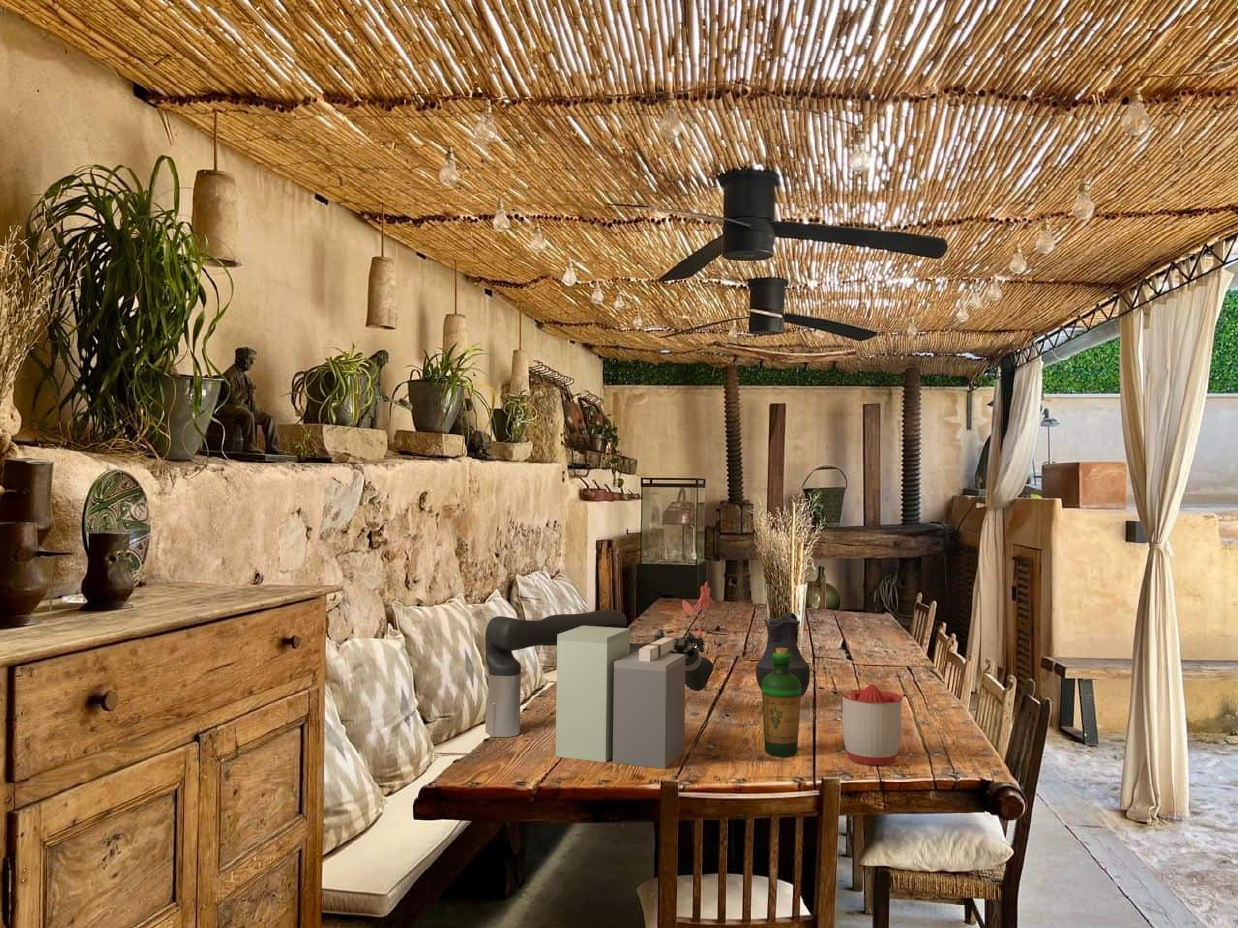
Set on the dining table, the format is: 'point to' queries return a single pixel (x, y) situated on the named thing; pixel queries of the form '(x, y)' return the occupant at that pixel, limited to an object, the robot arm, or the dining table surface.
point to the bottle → (781, 707)
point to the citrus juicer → (871, 725)
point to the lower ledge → (649, 710)
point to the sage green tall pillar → (587, 690)
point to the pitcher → (783, 636)
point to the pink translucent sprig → (699, 606)
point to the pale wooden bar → (656, 649)
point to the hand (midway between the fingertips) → (673, 633)
